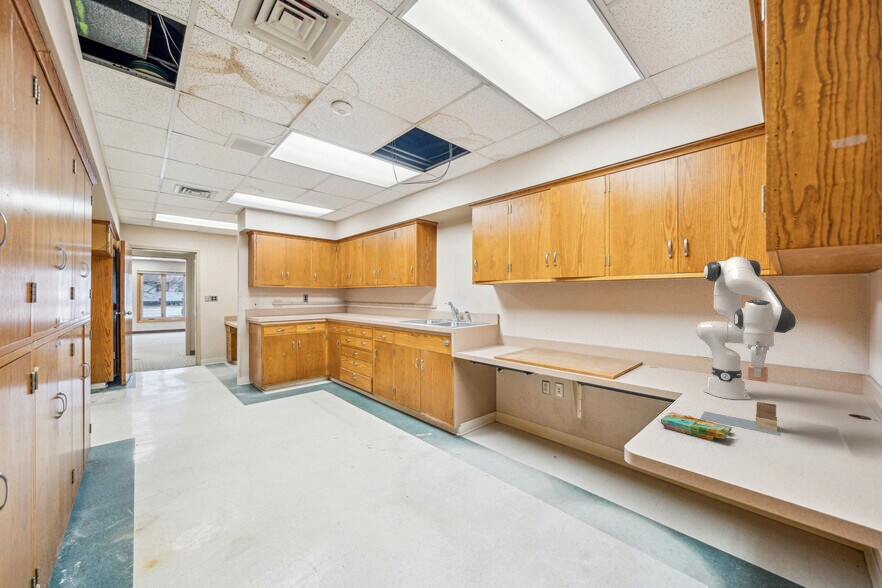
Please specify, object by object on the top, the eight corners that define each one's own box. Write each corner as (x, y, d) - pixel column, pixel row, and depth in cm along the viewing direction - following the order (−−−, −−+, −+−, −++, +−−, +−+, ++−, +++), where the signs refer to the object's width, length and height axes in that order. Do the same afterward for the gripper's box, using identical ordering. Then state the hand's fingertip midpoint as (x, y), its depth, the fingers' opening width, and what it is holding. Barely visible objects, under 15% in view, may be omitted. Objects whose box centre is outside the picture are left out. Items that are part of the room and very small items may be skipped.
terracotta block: (749, 377, 139) (749, 365, 139) (767, 379, 135) (767, 367, 135) (748, 379, 135) (748, 367, 135) (767, 382, 131) (767, 369, 131)
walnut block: (756, 413, 137) (757, 401, 137) (775, 417, 134) (776, 404, 134) (756, 417, 133) (756, 404, 133) (776, 420, 130) (776, 407, 130)
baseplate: (704, 413, 151) (704, 411, 151) (780, 429, 135) (780, 426, 135) (699, 421, 142) (699, 419, 142) (780, 439, 125) (780, 436, 125)
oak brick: (756, 423, 138) (756, 413, 138) (776, 427, 133) (776, 417, 133) (755, 427, 133) (755, 417, 133) (776, 431, 129) (777, 421, 129)
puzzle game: (670, 410, 143) (731, 424, 128) (670, 421, 143) (731, 436, 128) (660, 416, 136) (724, 432, 120) (660, 428, 136) (724, 445, 121)
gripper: (768, 344, 125) (768, 381, 125) (769, 339, 140) (769, 372, 140) (745, 342, 130) (745, 378, 130) (749, 337, 144) (748, 370, 144)
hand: (758, 375), depth 135 cm, fingers closed on terracotta block, 5 cm apart
